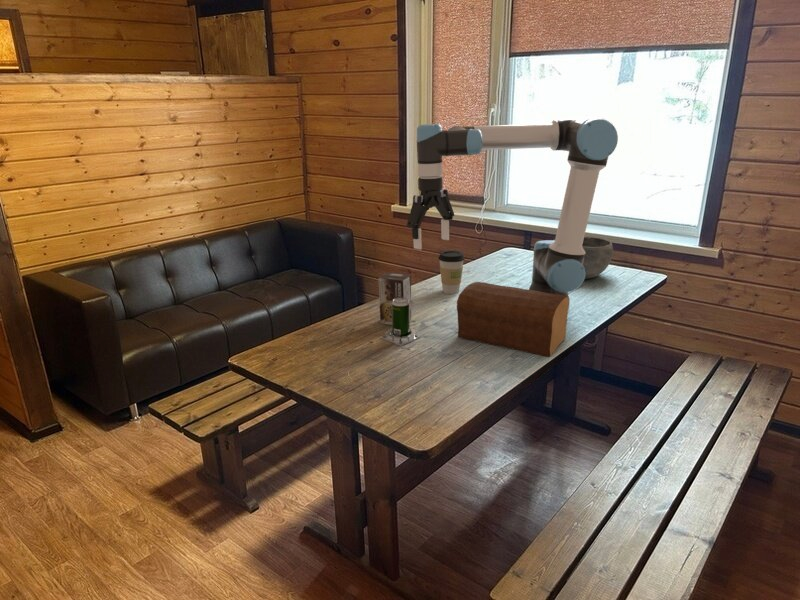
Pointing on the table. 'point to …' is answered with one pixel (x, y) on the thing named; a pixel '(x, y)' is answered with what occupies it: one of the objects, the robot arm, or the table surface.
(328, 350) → the table surface
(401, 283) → the coffee box
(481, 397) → the table surface
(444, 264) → the coffee cup
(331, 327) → the table surface
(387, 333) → the duct flange
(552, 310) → the bread
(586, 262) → the bowl
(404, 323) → the beer can
